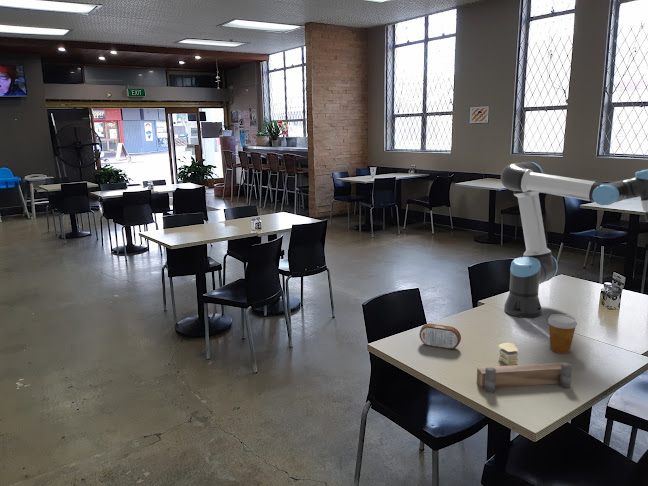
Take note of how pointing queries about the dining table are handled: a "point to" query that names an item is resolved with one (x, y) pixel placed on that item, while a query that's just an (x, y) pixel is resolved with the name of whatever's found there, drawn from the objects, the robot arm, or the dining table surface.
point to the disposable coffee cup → (561, 332)
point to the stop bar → (524, 375)
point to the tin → (440, 336)
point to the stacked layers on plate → (508, 353)
